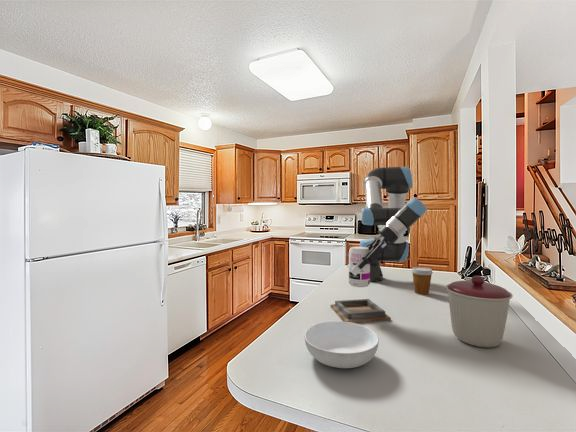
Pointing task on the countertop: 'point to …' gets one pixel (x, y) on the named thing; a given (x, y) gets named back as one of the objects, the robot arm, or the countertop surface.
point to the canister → (478, 311)
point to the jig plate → (359, 311)
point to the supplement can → (364, 275)
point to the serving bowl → (341, 343)
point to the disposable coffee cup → (421, 280)
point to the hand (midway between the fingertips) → (350, 270)
